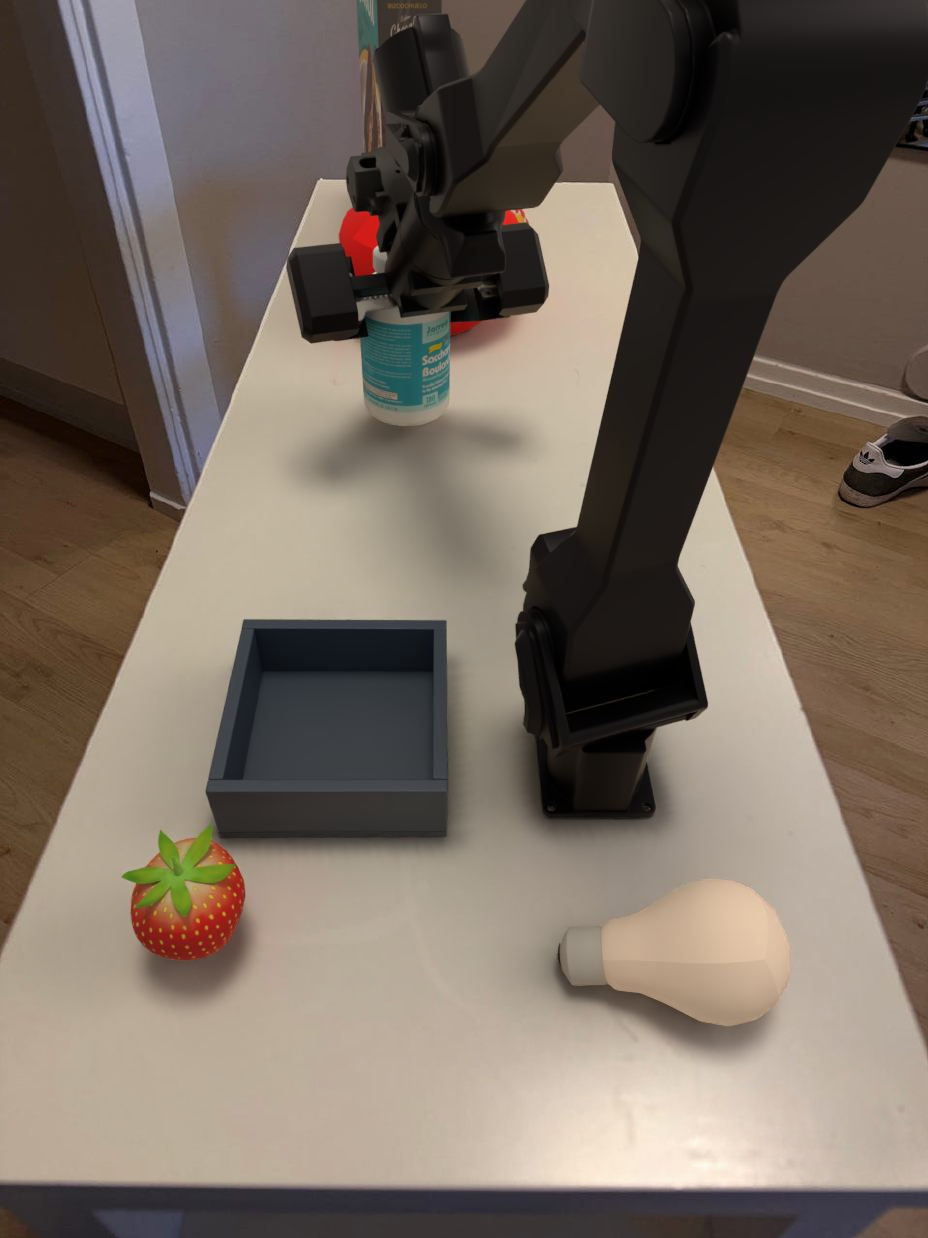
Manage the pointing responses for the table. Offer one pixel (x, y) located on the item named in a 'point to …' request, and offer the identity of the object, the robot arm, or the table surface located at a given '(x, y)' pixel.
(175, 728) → the table surface
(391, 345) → the pill bottle
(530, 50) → the robot arm
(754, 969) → the light bulb
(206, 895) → the fruit
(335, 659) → the bin
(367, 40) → the cake mix box
